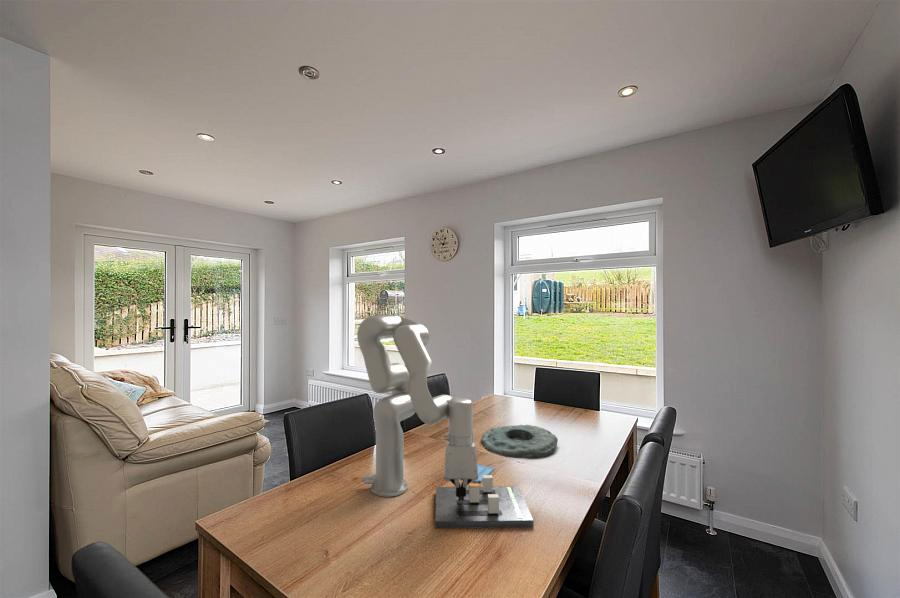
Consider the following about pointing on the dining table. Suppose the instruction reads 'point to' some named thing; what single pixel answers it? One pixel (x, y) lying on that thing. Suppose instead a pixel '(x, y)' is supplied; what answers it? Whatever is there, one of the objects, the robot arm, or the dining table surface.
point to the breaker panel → (482, 509)
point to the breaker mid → (473, 492)
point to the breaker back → (487, 483)
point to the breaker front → (493, 503)
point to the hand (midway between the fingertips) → (460, 498)
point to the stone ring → (534, 447)
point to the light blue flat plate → (483, 472)
